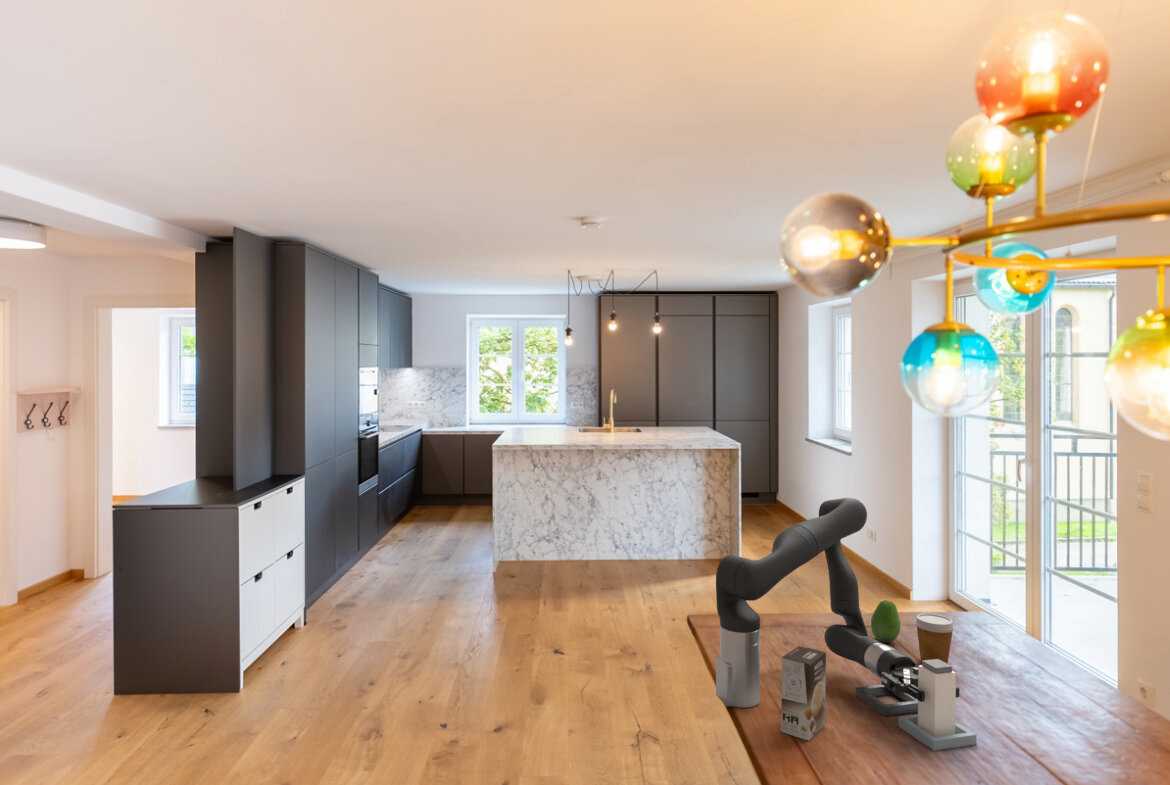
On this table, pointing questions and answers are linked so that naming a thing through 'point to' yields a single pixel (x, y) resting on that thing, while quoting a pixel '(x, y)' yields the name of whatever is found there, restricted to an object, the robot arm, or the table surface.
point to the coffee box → (803, 692)
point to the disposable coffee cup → (934, 636)
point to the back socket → (885, 709)
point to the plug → (937, 698)
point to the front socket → (942, 742)
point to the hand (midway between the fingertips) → (941, 695)
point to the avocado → (885, 622)
